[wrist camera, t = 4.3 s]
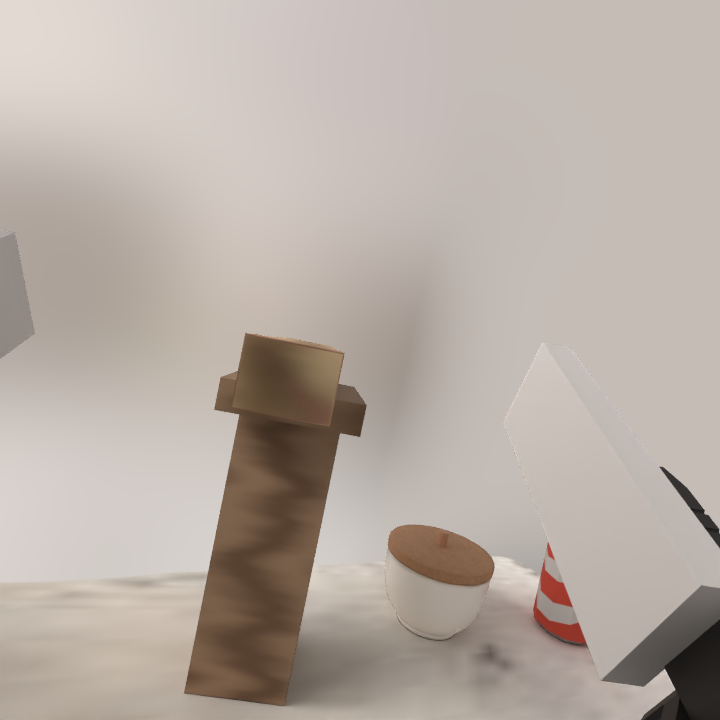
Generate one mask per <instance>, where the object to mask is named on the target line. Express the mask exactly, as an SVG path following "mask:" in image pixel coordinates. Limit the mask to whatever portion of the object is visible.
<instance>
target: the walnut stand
mask: <svg viewBox="0 0 720 720" xmlns="http://www.w3.org/2000/svg"><path fill="white" fill-rule="evenodd" d="M237 373H238V371H237V372H234V373H231V374H228V375H226V376H223V377H221V379H220V384H219V389H218V394H217V399H216V404H215V410H219V411H224V412H230V413H235V414H240V415H239V420H238V425H237V430H236V435H235V440H234V445H233V450H232V455H231V461H230V465H229V470H228V476H227V480H226V485H225V490H224V495H223V501H222V505H221V510H220V515H219V521H218V525H217V530H216V536H215V541H214V546H213V551H212V556H211V561H210V566H209V571H208V576H207V581H206V586H205V591H204V596H203V601H202V606H201V611H200V616H199V621H198V626H197V631H196V636H195V641H194V646H193V651H192V656H191V662H190V667H189V672H188V677H187V682H186V687H185V692H184V693H190V694H197V695H205V696H213V697H220V698H228V699H236V700H243V701H251V702H259V703H266V704H274V705H282V706H284V704H285V699H286V694H287V690H288V685H289V680H290V675H291V670H292V665H293V660H294V655H295V650H296V646H297V641H298V636H299V631H300V626H301V621H302V616H303V611H304V606H305V601H306V597H307V592H308V587H309V582H310V577H311V572H312V567H313V562H314V557H315V553H316V548H317V543H318V538H319V533H320V528H321V523H322V518H323V513H324V509H325V504H326V499H327V493H328V489H329V483H330V479H331V474H332V469H333V464H334V460H335V455H336V450H337V445H338V440H339V435H340V433H342V434H348V435H353V436H358V437H360V434H361V429H362V425H363V420H364V415H365V410H366V404H365V402H364V401H363V399H362V398H361V397H360V395H359V394H358V392H357V391H356V389H355V388H354V387H351V386H346V385H341V384H338V388H337V393H336V398H335V402H334V407H333V412H332V417H331V422H330V427H329V426H324V425H319V424H313V423H308V422H303V421H297V420H292V419H287V418H281V417H276V416H271V415H265V414H260V413H255V412H249V411H244V410H239V409H233V408H231V403H232V398H233V393H234V388H235V383H236V378H237Z"/></svg>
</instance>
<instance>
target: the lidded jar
mask: <svg viewBox="0 0 720 720" xmlns="http://www.w3.org/2000/svg"><path fill="white" fill-rule="evenodd" d="M493 572H494V562H493V560H492V558H491V556H490V555H489V554H488V553H487V552H486V551H485V550H484V549H483V548H481V547H480V546H479V545H477V544H476V543H474V542H472V541H470V540H468V539H467V538H465V537H463V536H460V535H458V534H455V533H453V532H450V531H447V530H443V529H440V528H436V527H431V526H424V525H404V526H399V527H397V528H395V529H394V530H393V531H391V533H390V535H389V540H388V551H387V557H386V563H385V586H386V591H387V595H388V598H389V601H390V603H391V605H392V607H393V609H394V610H395V611H396V613H397V617H398V619H399V621H400V622H401V623H402V625H403V626H405V627H406V628H407V629H408V630H410V631H411V632H413V633H415V634H417V635H419V636H421V637H424V638H428V639H432V640H445V639H449V638H451V637H452V636H453V635H454V634H455V633H457V632H460V631H462V630H463V629H465V628H466V627H468V626H469V625H470V624H471V623H472V622H473V621H474V619H475V618H476V617H477V615H478V614H479V612H480V610H481V608H482V606H483V604H484V601H485V598H486V595H487V592H488V588H489V584H490V579H491V578H492V575H493Z"/></svg>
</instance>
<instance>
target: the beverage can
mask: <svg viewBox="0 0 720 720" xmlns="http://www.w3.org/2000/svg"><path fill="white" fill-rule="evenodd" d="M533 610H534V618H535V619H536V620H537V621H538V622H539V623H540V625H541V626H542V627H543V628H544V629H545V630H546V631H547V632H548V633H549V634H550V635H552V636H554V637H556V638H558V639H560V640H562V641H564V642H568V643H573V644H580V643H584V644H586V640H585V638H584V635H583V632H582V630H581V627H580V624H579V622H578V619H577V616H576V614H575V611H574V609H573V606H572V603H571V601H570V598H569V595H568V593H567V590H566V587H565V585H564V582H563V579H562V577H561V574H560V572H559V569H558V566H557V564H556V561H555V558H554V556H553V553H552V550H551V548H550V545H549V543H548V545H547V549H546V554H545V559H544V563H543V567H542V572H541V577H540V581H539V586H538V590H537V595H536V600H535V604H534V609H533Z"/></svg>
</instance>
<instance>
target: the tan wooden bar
mask: <svg viewBox="0 0 720 720" xmlns="http://www.w3.org/2000/svg"><path fill="white" fill-rule="evenodd" d="M343 358H344V353H343V352H341V351H337V350H336V349H334V348H333V347H331V346H326V345H321V344H316V343H311V342H305V341H301V340H296V339H291V338H281V337H280V338H279V337H269V336H262V335H257V334H247V333H245V338H244V343H243V348H242V353H241V358H240V363H239V368H238V373H237V378H236V383H235V388H234V393H233V398H232V403H231V408H233V409H239V410H244V411H249V412H255V413H260V414H265V415H271V416H276V417H281V418H287V419H292V420H297V421H303V422H308V423H313V424H319V425H324V426H329V427H330V422H331V417H332V412H333V407H334V402H335V398H336V393H337V388H338V383H339V378H340V372H341V368H342V363H343Z"/></svg>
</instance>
